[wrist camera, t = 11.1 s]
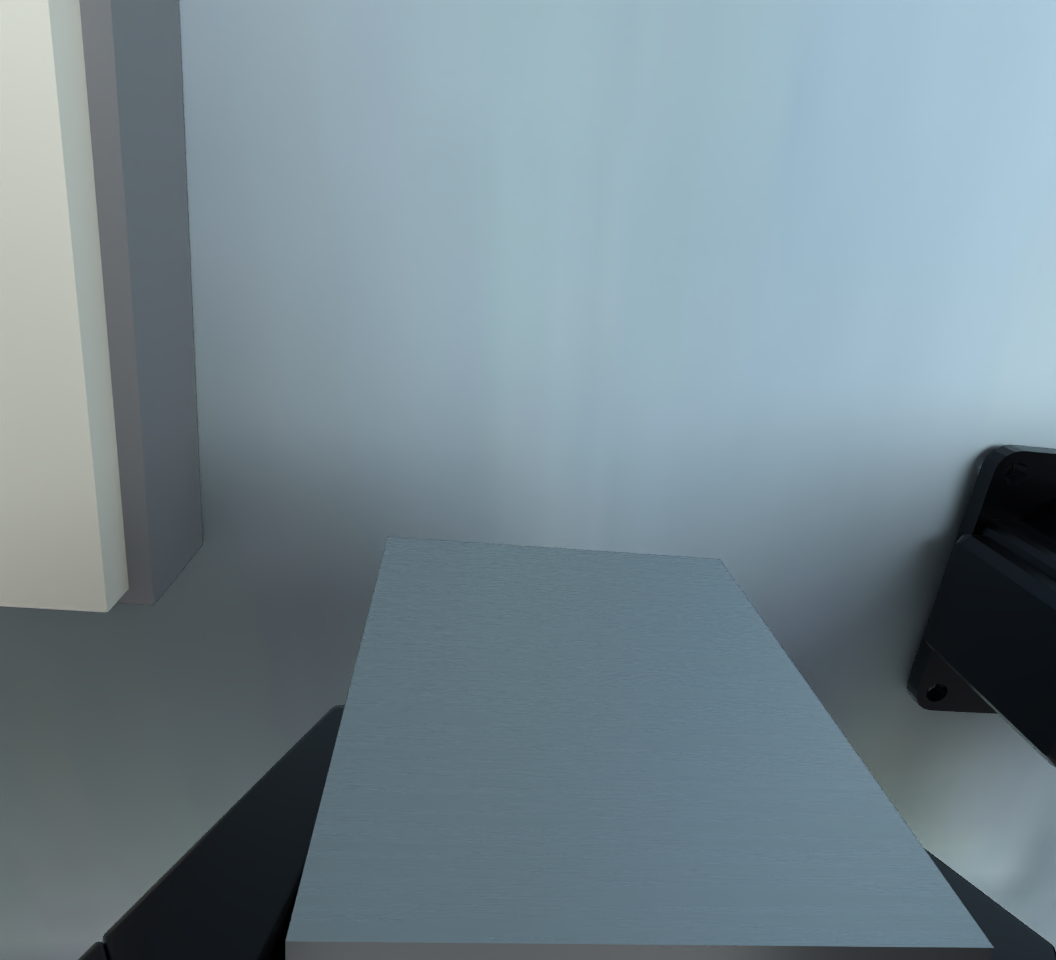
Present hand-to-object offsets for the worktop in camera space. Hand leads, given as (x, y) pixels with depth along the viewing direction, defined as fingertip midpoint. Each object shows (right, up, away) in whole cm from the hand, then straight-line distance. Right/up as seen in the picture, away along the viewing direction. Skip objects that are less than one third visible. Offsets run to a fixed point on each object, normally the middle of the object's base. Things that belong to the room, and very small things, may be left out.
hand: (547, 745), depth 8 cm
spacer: (0, 0, +1) cm, 1 cm away
